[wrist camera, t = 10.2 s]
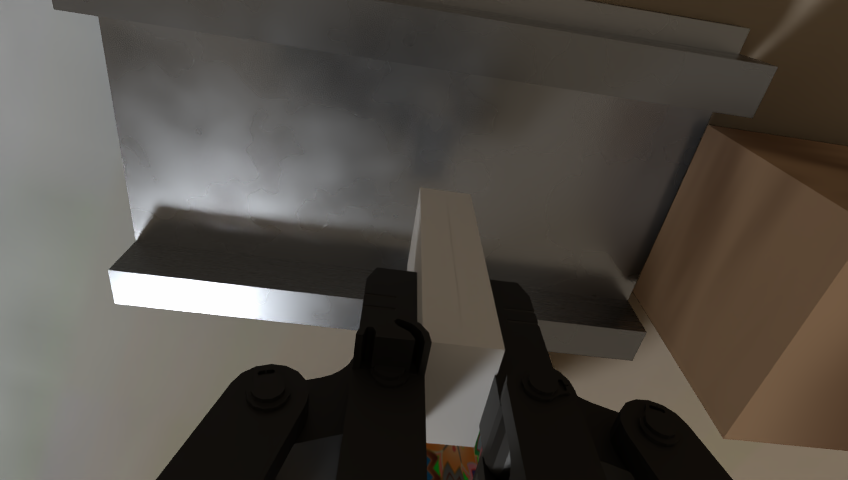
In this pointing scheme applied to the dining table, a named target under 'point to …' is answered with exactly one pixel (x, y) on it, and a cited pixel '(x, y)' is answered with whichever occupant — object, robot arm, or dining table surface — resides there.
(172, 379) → the dining table surface
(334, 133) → the grey tray
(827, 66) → the dining table surface
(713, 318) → the block
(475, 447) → the mug
